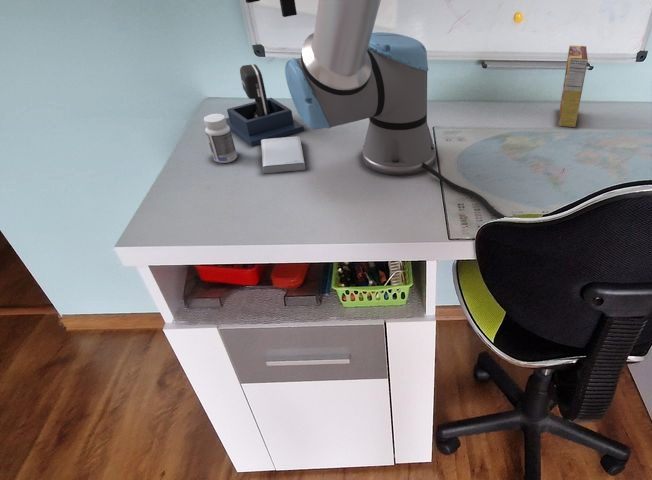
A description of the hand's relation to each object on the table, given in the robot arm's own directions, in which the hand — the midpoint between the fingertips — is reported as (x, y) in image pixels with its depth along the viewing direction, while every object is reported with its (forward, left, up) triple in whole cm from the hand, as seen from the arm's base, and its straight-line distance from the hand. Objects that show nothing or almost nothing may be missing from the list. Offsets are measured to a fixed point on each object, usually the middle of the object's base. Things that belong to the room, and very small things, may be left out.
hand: (270, 8), depth 106 cm
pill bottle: (-4, +18, -24) cm, 30 cm away
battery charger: (+5, +5, -23) cm, 24 cm away
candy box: (-36, -55, -24) cm, 70 cm away
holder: (+4, +5, -24) cm, 25 cm away
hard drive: (-11, +9, -24) cm, 28 cm away
